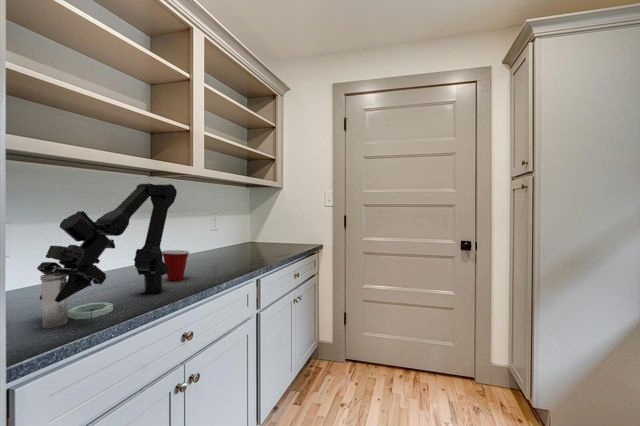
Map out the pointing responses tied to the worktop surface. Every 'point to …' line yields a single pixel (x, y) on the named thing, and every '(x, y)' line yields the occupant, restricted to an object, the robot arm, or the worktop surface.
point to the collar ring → (79, 314)
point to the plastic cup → (175, 263)
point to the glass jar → (53, 300)
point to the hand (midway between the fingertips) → (48, 300)
